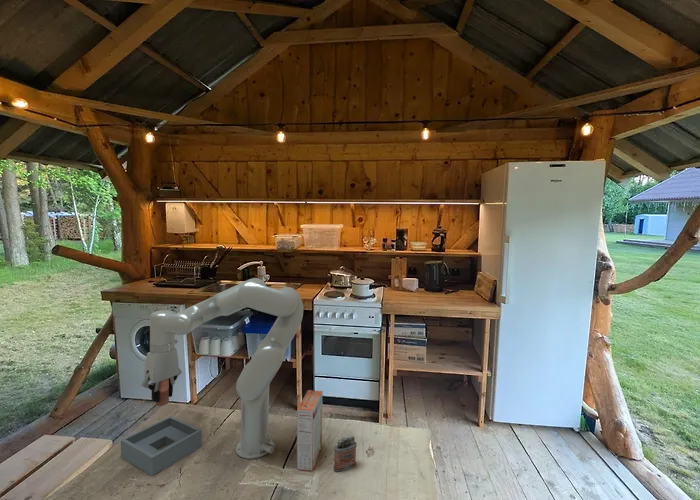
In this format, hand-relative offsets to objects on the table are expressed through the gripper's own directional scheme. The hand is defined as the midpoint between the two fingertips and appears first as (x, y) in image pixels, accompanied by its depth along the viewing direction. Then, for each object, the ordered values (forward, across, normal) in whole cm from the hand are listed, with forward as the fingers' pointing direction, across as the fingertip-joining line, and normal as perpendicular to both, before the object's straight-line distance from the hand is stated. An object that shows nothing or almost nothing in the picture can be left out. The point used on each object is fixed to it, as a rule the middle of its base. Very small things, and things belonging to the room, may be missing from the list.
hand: (162, 397), depth 119 cm
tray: (+19, 0, 0) cm, 19 cm away
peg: (+2, 0, 0) cm, 2 cm away
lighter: (+19, -26, +59) cm, 67 cm away
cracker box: (+19, -24, +46) cm, 55 cm away
